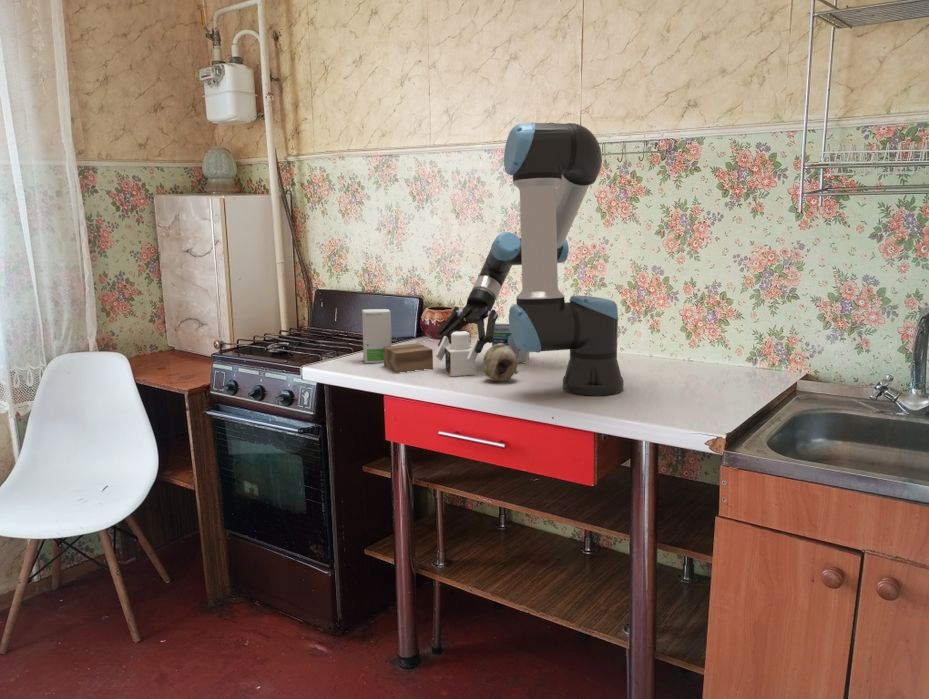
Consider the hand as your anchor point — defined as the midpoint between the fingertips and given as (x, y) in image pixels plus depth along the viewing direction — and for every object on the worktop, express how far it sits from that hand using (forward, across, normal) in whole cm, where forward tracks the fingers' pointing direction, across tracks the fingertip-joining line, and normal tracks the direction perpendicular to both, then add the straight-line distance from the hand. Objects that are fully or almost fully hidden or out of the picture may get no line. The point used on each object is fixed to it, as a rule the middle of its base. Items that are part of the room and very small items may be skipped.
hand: (453, 359), depth 205 cm
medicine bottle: (+1, 0, -6) cm, 6 cm away
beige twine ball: (+3, -14, -4) cm, 15 cm away
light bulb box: (-14, -4, -20) cm, 25 cm away
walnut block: (+2, +17, -5) cm, 18 cm away
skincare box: (0, +31, -7) cm, 32 cm away
